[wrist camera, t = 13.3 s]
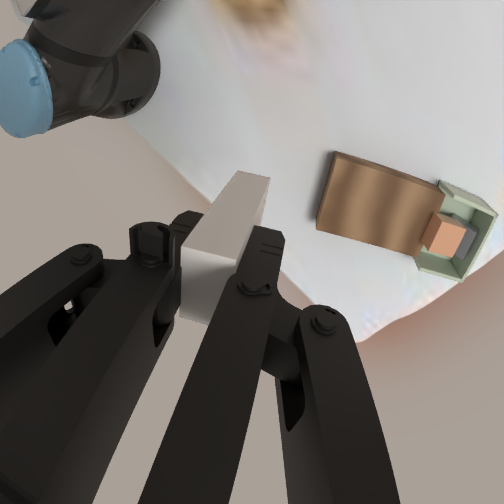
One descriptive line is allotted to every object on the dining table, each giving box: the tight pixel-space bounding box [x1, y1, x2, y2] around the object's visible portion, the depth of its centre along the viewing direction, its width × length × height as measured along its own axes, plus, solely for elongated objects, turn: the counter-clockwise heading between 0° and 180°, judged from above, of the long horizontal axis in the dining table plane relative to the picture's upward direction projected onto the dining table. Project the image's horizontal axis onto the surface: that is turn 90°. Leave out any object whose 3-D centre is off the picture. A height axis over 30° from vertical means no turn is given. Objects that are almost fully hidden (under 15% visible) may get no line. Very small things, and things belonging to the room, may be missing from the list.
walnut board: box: [316, 151, 446, 257], centre depth 41 cm, size 17×11×4 cm, turn 80°
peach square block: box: [421, 212, 467, 257], centre depth 38 cm, size 5×5×3 cm
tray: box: [413, 180, 498, 283], centre depth 39 cm, size 9×13×6 cm
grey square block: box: [451, 214, 479, 260], centre depth 39 cm, size 5×5×3 cm
